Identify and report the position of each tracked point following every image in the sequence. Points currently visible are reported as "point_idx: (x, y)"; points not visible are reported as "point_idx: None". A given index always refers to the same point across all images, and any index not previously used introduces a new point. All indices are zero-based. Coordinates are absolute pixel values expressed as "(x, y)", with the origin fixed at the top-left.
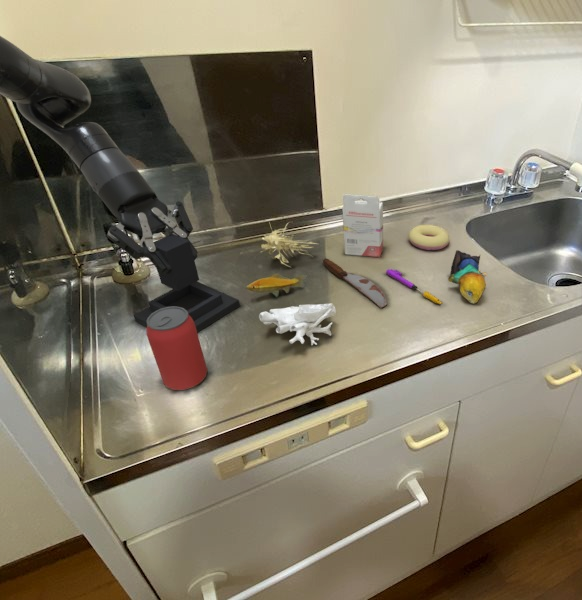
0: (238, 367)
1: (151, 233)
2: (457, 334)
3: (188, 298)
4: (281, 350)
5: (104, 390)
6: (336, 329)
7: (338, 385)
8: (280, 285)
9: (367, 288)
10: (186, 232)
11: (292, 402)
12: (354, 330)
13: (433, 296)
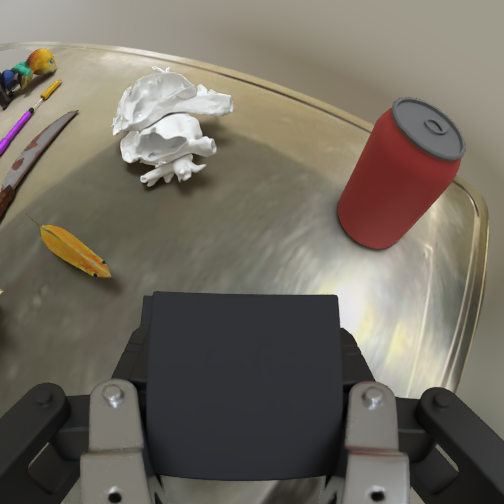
0: (299, 170)
1: (348, 470)
2: (109, 54)
3: None
4: (226, 145)
5: (458, 300)
6: None
7: (242, 75)
8: (69, 233)
9: (35, 148)
10: (78, 409)
11: (296, 94)
12: None
13: (50, 86)
